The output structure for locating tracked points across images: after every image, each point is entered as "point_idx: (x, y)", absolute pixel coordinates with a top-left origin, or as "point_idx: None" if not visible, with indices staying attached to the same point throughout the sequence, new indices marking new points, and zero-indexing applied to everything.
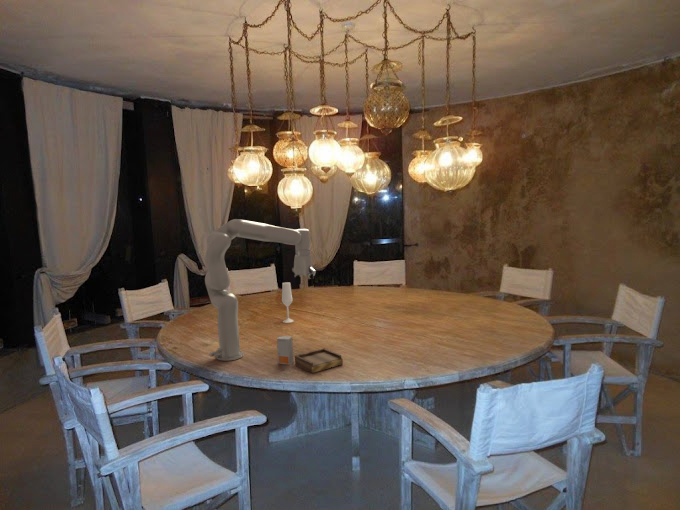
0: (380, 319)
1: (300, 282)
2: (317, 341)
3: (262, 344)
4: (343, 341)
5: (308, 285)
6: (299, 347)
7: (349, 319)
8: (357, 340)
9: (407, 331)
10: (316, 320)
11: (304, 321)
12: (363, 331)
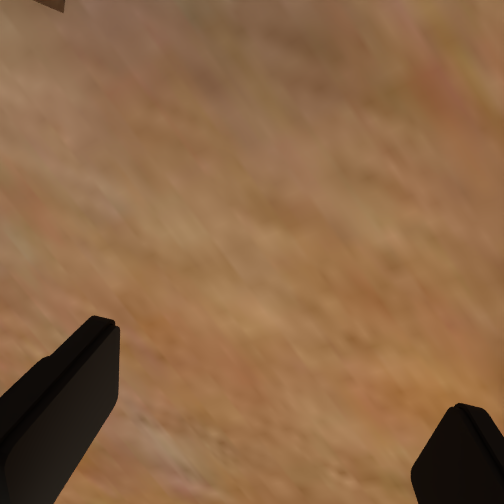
0: (196, 486)
1: (422, 501)
2: (236, 198)
3: (489, 17)
4: (142, 242)
5: (86, 326)
6: (257, 79)
7: (292, 469)
8: (107, 272)
9: None
10: (412, 436)
11: None
12: (160, 368)
